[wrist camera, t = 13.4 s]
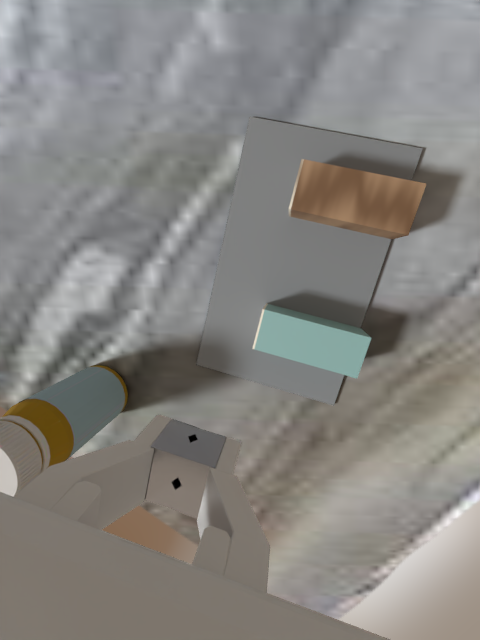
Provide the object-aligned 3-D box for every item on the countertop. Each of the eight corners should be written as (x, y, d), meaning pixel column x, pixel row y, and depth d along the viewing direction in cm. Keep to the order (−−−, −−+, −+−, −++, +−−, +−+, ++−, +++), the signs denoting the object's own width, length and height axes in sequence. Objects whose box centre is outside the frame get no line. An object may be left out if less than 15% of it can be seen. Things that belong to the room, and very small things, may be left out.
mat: (250, 118, 28) (249, 116, 27) (420, 150, 26) (422, 148, 26) (197, 363, 34) (196, 364, 33) (333, 403, 32) (333, 405, 31)
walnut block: (301, 158, 24) (426, 183, 23) (300, 173, 28) (406, 195, 26) (288, 208, 25) (408, 235, 24) (288, 216, 29) (391, 239, 27)
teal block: (262, 309, 27) (371, 337, 26) (266, 303, 31) (360, 328, 29) (252, 348, 28) (357, 378, 26) (256, 338, 31) (348, 363, 30)
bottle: (132, 369, 35) (22, 443, 21) (128, 420, 37) (23, 521, 22) (81, 358, 36) (-58, 420, 22) (79, 407, 38) (-52, 497, 23)
